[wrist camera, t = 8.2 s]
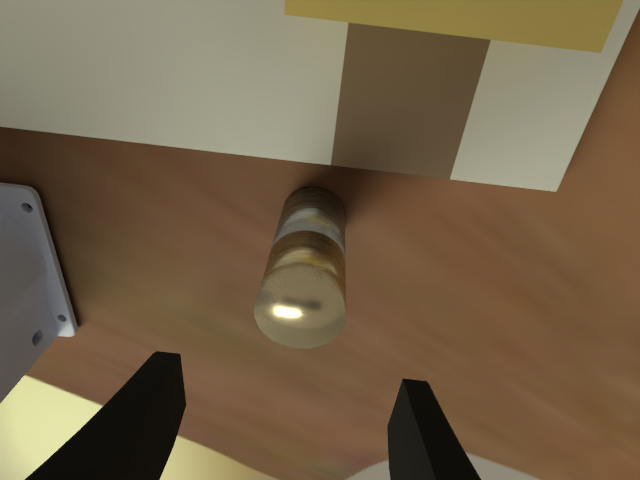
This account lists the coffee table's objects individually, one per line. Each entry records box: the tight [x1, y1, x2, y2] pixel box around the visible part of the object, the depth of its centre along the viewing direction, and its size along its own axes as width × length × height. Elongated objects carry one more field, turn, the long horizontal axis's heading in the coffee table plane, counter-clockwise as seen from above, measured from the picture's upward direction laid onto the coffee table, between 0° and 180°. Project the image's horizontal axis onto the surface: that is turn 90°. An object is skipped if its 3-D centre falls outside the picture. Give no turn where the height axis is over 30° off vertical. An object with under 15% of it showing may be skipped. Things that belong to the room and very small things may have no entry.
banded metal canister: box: [254, 187, 346, 349], centre depth 16 cm, size 3×3×7 cm
